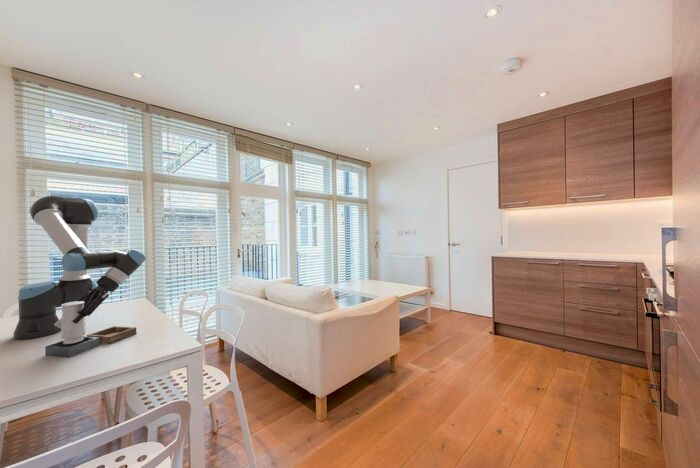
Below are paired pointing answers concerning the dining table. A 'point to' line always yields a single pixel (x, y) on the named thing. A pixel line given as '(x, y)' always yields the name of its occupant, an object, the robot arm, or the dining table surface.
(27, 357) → the dining table surface
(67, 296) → the robot arm
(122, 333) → the tray
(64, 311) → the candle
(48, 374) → the dining table surface
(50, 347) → the shallow grey tray
